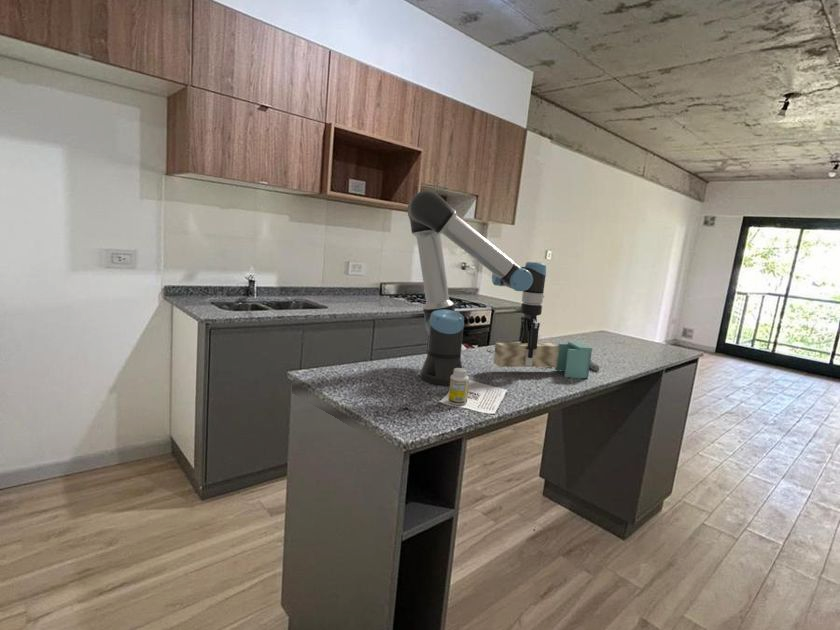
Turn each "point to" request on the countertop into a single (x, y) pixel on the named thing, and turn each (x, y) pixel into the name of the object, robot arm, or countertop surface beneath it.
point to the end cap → (574, 359)
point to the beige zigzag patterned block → (517, 351)
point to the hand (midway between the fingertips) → (525, 363)
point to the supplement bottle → (458, 387)
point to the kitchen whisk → (594, 366)
